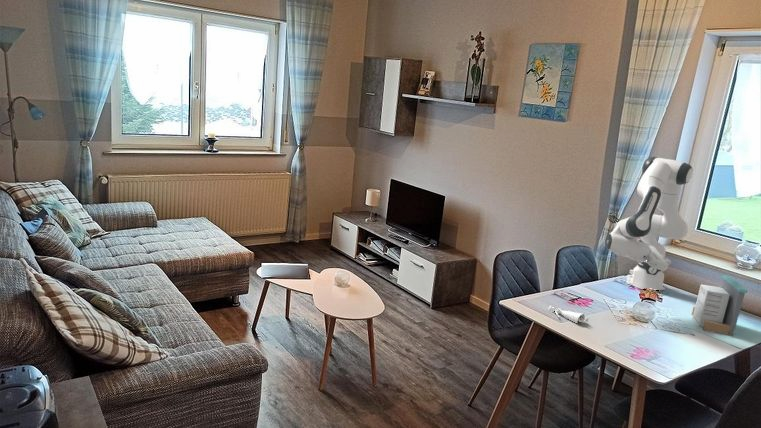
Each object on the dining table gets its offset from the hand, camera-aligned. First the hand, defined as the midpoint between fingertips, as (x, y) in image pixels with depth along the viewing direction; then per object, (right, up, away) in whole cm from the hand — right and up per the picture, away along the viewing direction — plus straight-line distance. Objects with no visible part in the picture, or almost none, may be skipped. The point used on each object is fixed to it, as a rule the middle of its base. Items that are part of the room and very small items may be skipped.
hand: (669, 262), depth 245 cm
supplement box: (+15, -28, -3) cm, 32 cm away
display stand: (+17, -28, -3) cm, 33 cm away
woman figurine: (-51, -23, -12) cm, 58 cm away
